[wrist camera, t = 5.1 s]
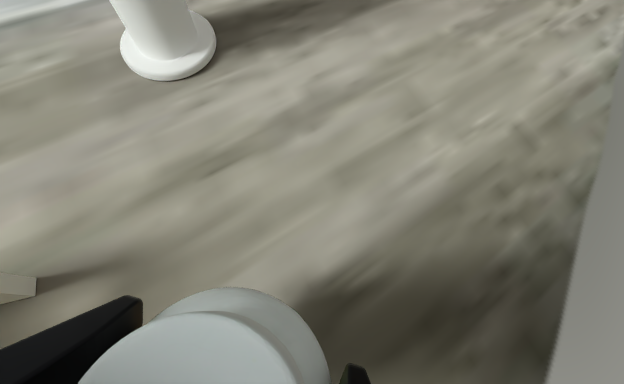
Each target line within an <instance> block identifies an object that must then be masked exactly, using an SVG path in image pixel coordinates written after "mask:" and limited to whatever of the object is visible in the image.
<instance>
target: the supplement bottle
mask: <svg viewBox="0 0 624 384" xmlns="http://www.w3.org/2000/svg"><path fill="white" fill-rule="evenodd" d="M78 384H331V377H330V374H329V370H328V366H327V362H326V359H325V356H324V354H323V351H322V349H321V347H320V345H319V343H318V341H317V339H316V337H315V335H314V334H313V332H312V331H311V329H310V328H309V326H308V325H307V324H306V322H305V321H304V320H303V319H302V318H301V316H300V315H299V314H298V313H297V312H296V311H295V310H294V309H292V308H291V307H290V306H288V305H287V304H285V303H283V302H282V301H280V300H279V299H277V298H275V297H273V296H271V295H268V294H266V293H263V292H260V291H257V290H253V289H247V288H237V287H223V288H215V289H210V290H206V291H202V292H198V293H196V294H193V295H191V296H188V297H186V298H184V299H182V300H180V301H178V302H176V303H174V304H173V305H171V306H169V307H168V308H166V309H165V310H163V311H162V312H161V313H160V314H158V315H157V316H156V317H155V318H153V319H152V320H151V321H150V322H149V323H148V324H146V325H144V326H142V327H140V328H138V329H137V330H135V331H133V332H132V333H130V334H128V335H127V336H125V337H124V338H122V339H121V340H120V341H119V342H117V343H116V344H115V345H113V346H112V347H111V348H110V349H108V350H107V351H106V352H105V353H104V354H103V355H102V356H101V357H100V358H99V359H98V360H97V361H96V362H95V363H94V364H93V365H92V366H91V368H90V369H89V370H88V371H87V372H86V373H85V375H84V376H83V377H82V378H81V380H80V381H79V382H78Z"/></svg>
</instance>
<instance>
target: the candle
mask: <svg viewBox="0 0 624 384" xmlns="http://www.w3.org/2000/svg"><path fill="white" fill-rule="evenodd" d="M109 1H110V2H111V4H112V6H113V7H114V9H115V11H116V12H117V14H118V16H119V17H120V19H121V21H122V22H123V24H124V26H125V27H126V30H125V31H124V33H123V35H122V38H121V42H120V51H121V54H122V57H123V59H124V60H125V62H126V63H127V65H128V66H129V67H130V68H131V69H132V70H133V71H134V72H135V73H137V74H138V75H140V76H142V77H145V78H148V79H151V80H157V81H173V80H178V79H182V78H186V77H188V76H191V75H193V74H195V73H196V72H198V71H200V70H201V69H202V68H203V67H205V66H206V65H207V64H208V62H209V61H210V60H211V58H212V57H213V55H214V52H215V49H216V36H215V33H214V30H213V28H212V26H211V24H210V23H209V22H208V20H206V19H205V18H204V17H203V16H201V15H200V14H198V13H196V12H194V11H191V10H189V9H188V6H187V3H186V0H109Z"/></svg>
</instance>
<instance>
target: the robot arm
mask: <svg viewBox="0 0 624 384" xmlns="http://www.w3.org/2000/svg"><path fill="white" fill-rule="evenodd" d="M142 323H143V302H142V300H141V299H139V298H136V297H133V296H129V295H126V296H122V297H120V298H118V299H115V300H113V301H111V302H108V303H106V304H104V305H102V306H99V307H97V308H95V309H92V310H90V311H88V312H85V313H83V314H81V315H79V316H76V317H74V318H72V319H69V320H67V321H65V322H62V323H60V324H58V325H56V326H53V327H51V328H49V329H46V330H44V331H42V332H40V333H37V334H35V335H33V336H30V337H28V338H26V339H23V340H21V341H19V342H17V343H14V344H12V345H10V346H7V347H5V348H3V349H0V384H78V382H79V381H80V380H81V378H82V377H83V376H84V375H85V373H86V372H87V371H88V370H89V369H90V368H91V366H92V365H93V364H94V363H95V362H96V361H97V360H98V359H99V358H100V357H101V356H102V355H103V354H104V353H105V352H106V351H107V350H108V349H110V348H111V347H112V346H113V345H115V344H116V343H117V342H119V341H120V340H121V339H122V338H124V337H125V336H127V335H128V334H130V333H132V332H133V331H135V330H137V329H138V328H140V327H142ZM339 384H371V383H370V381H369V378H368V376H367V373H366V371H365V369H364V368H363V367H361V366H358V365H355V364H352V363H348V364H347V365H346V367H345V370H344V372H343V375H342V378H341V380H340V383H339Z"/></svg>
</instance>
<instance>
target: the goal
mask: <svg viewBox="0 0 624 384" xmlns="http://www.w3.org/2000/svg"><path fill="white" fill-rule="evenodd" d="M35 292H36V278H34V277H28V276H21V275H14V274H8V273H1V272H0V304H4V303H8V302H12V301H17V300H21V299H25V298H29V297H33V296H35Z"/></svg>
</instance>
